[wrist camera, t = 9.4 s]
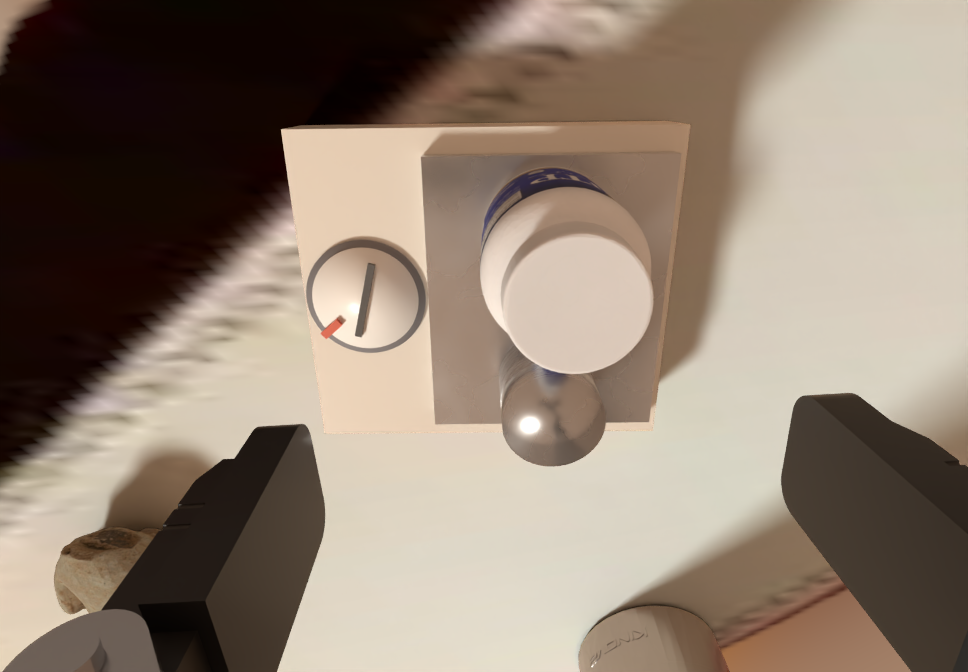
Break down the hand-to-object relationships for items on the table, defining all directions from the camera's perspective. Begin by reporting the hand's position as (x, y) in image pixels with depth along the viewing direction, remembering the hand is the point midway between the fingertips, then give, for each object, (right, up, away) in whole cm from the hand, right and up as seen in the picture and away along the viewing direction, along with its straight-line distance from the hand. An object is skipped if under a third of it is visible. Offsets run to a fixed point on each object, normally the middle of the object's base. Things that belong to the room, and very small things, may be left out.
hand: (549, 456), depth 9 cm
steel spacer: (+2, 0, +16) cm, 16 cm away
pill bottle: (+1, +6, +14) cm, 15 cm away
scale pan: (+2, +4, +15) cm, 16 cm away
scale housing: (-1, +5, +18) cm, 19 cm away
